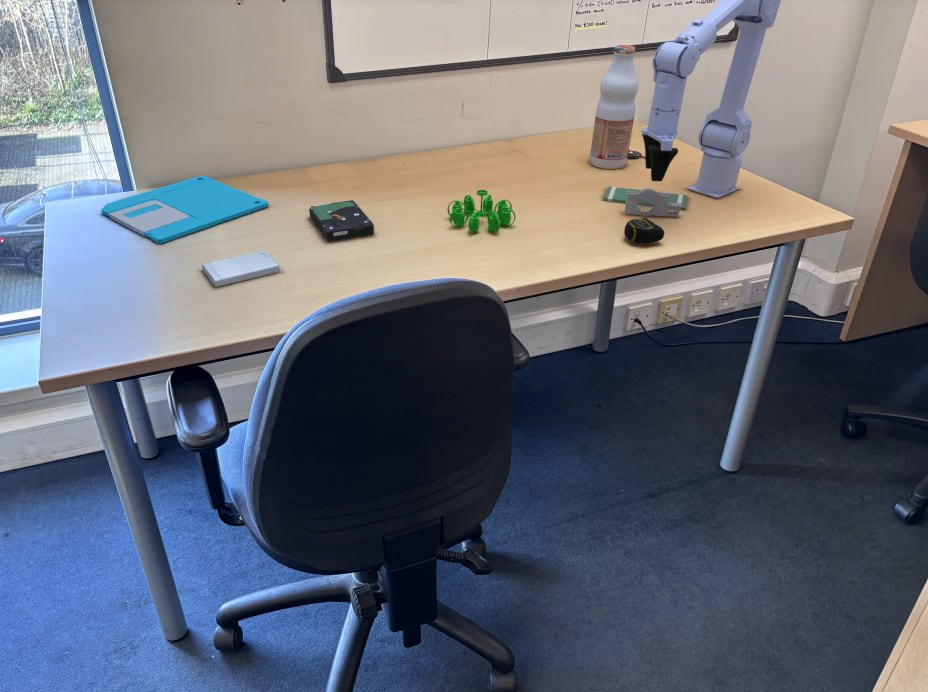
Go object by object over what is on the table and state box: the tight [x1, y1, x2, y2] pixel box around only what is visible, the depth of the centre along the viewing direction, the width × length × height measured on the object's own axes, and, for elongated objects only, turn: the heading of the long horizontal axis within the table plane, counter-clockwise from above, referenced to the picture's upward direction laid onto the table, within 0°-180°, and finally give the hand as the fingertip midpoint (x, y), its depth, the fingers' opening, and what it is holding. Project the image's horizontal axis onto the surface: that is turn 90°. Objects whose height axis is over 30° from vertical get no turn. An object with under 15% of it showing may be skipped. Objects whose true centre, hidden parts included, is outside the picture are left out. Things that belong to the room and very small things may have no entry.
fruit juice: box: [589, 44, 640, 170], centre depth 184 cm, size 9×9×28 cm
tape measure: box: [623, 217, 665, 245], centre depth 151 cm, size 7×7×4 cm
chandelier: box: [447, 189, 517, 234], centre depth 158 cm, size 15×15×7 cm
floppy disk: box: [100, 175, 270, 244], centre depth 166 cm, size 26×28×1 cm
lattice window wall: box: [623, 187, 682, 218], centre depth 162 cm, size 12×2×6 cm, turn 81°
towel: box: [603, 186, 688, 211], centre depth 171 cm, size 8×18×1 cm, turn 71°
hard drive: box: [201, 250, 281, 288], centre depth 141 cm, size 2×8×12 cm
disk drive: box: [308, 199, 375, 243], centre depth 158 cm, size 10×3×15 cm
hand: (653, 174), depth 157 cm, fingers open, 7 cm apart
